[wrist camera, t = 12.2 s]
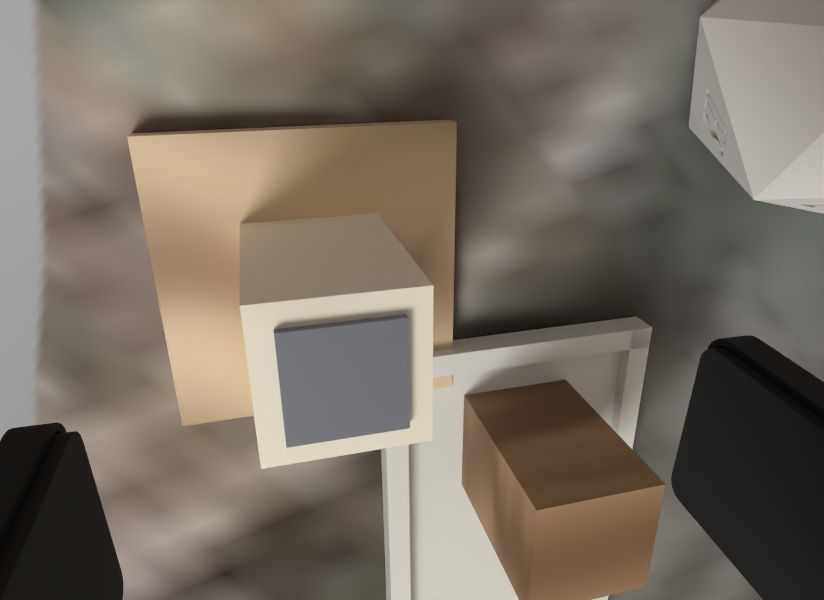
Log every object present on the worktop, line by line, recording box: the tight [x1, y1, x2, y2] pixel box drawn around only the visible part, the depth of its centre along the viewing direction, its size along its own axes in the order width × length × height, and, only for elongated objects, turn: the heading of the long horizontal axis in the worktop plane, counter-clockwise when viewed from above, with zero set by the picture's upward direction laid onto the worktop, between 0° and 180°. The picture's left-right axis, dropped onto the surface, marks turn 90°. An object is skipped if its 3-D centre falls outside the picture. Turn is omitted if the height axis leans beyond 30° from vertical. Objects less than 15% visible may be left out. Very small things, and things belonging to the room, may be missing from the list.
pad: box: [127, 120, 457, 426], centre depth 19 cm, size 9×9×1 cm
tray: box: [381, 316, 652, 600], centre depth 25 cm, size 16×10×1 cm, turn 0°
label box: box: [240, 213, 434, 469], centre depth 16 cm, size 4×4×6 cm
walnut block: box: [462, 380, 666, 600], centre depth 20 cm, size 4×4×6 cm
